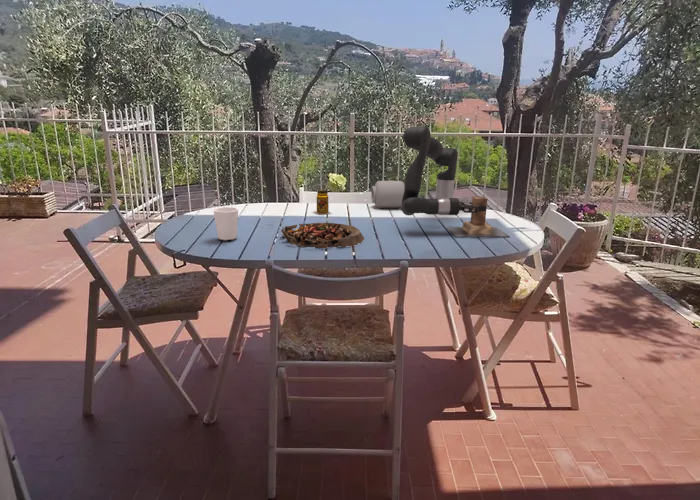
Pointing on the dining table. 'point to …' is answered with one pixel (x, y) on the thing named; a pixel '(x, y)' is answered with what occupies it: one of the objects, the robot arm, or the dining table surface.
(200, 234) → the dining table surface
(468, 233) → the plinth
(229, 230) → the cup
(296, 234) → the food dish
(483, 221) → the pillar
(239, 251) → the dining table surface
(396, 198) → the jar
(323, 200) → the condiment
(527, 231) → the dining table surface
